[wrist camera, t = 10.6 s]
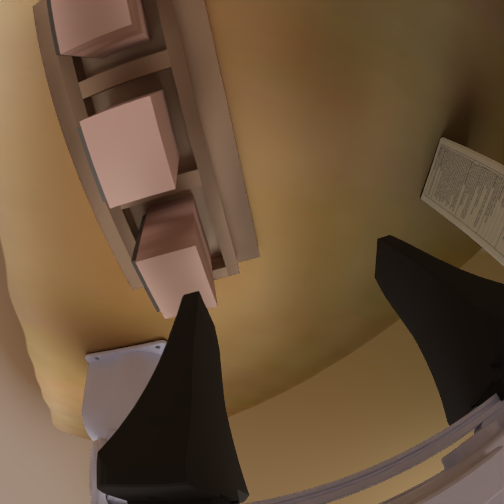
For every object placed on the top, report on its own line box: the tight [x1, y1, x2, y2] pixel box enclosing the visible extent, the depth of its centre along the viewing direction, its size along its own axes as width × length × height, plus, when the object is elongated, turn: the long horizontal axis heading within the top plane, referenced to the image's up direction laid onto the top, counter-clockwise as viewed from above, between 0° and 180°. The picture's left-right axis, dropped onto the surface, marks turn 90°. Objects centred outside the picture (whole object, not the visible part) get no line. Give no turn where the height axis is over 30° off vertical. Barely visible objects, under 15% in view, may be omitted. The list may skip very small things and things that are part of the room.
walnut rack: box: [33, 0, 260, 319], centre depth 13 cm, size 10×22×7 cm, turn 11°
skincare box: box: [421, 137, 504, 266], centre depth 17 cm, size 6×4×12 cm
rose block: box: [77, 89, 180, 208], centre depth 13 cm, size 3×4×6 cm
